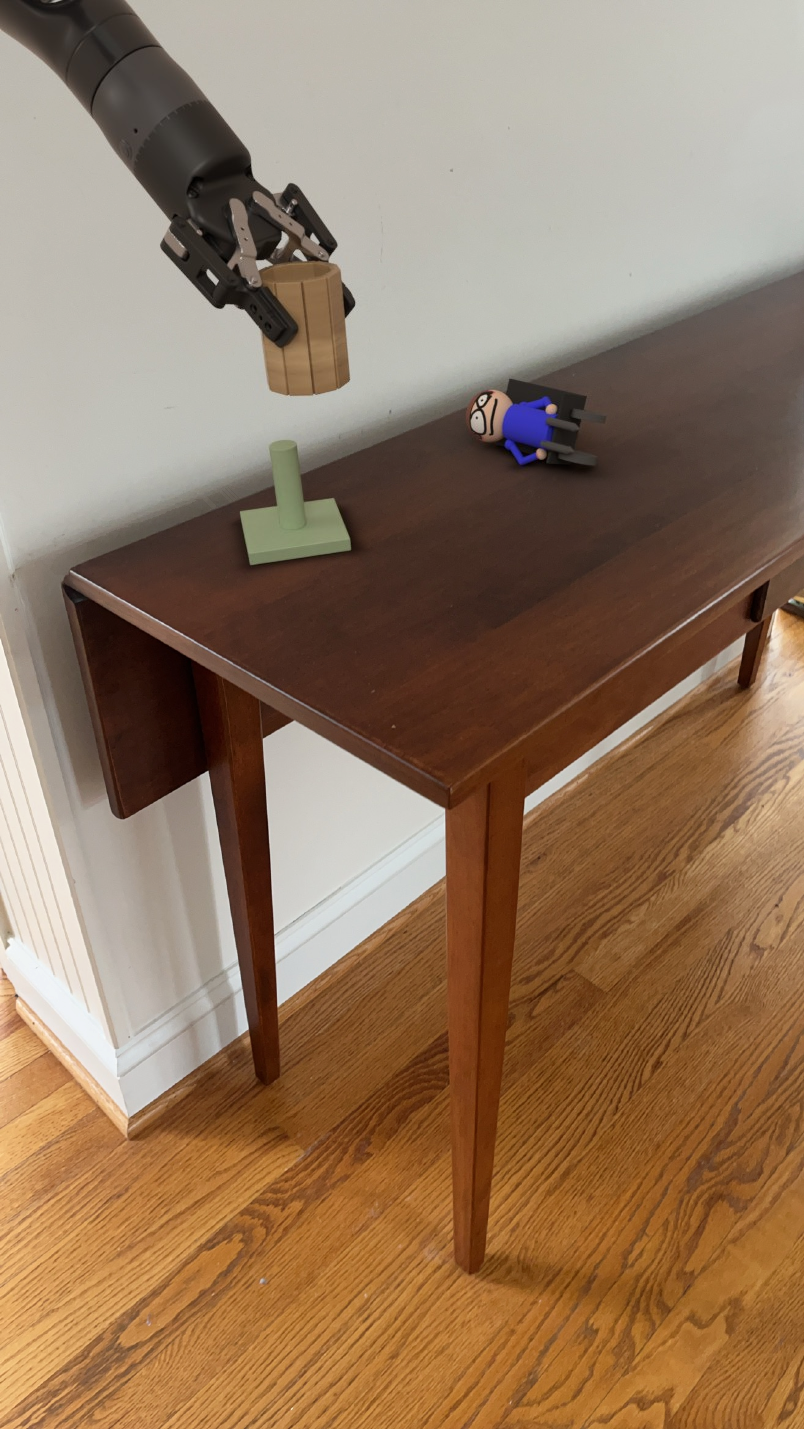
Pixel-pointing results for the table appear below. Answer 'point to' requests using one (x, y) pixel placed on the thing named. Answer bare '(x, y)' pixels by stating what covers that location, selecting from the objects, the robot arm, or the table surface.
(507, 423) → the character figurine
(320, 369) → the tan hollow cylinder
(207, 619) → the table surface
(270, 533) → the stand
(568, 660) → the table surface
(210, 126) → the robot arm
